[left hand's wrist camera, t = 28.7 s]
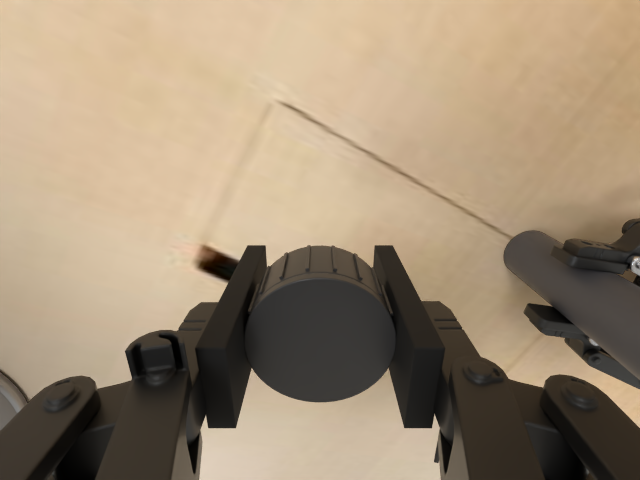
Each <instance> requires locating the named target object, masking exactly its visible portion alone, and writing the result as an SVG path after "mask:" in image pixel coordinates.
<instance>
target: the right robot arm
mask: <svg viewBox="0 0 640 480" xmlns="http://www.w3.org/2000/svg"><path fill="white" fill-rule="evenodd" d="M622 233H623V234H624V235H623V236H622V237H621V238H620V239H619V240H618V241H616V242H610V243H608V244H605V243H599V242H593V241H586V240H580V239H570V240H566V241H565V243H564V245H557V244H554V246H553V248H552V250H551V252H550V255H551V256H553V257H555V258H556V259H558V260H559V261H561V262H562V263H564V264H566V265H569V266H572V267H576V268H582V269H589V270H596V271H602V272H610V273H615V274H622V275H623V273H624V271H625V270H627V271H631V272H633V273H635V274H637V276H636V278H635V280H634V282H633V284H635V285H637V286H639V287H640V218H639V219H632V220H629V221H627V222H626V223H625V224H624V225H623V227H622ZM524 314H525V315H526V316H527V317H528V318H529V320H530V322H531V323H532V324H533V325H534V326H535V327H536V328H537V329H538V330H539V331H540V332H542V333H544V334H545V335H549V336H557V337H564V338H565V343H566V344H567V345H568V346H569V347H570V348H571V349H572V350H574V351H575V352H576V353H577V354H578V355H579V356H580V357H581V358H582V359H583V360H584V361H585V362H586V363H587V364H588V365H589V366H591V367H593V368H595V369H598V370H600V371H602V372H604V373H606V374H608V375H610V376H612V377H615V378H617V379H619V380H621V381H623V382H625V383H627V384H629V385H632V386H634V387H636V388H638V389H640V380H639V379H638V378H637V377H636V376H634V375H633V374H632V373H631V372H630V371H628V370H627V369H626V368H625V367H624V366H623V365H621V364H620V363H619V362H618V361H617V360H615V359H614V358H613V357H612V356H611V355H610V354H608V353H607V352H606V351H605V350H604V349H603V348H601V347H600V346H599V345H598V344H597V343H595V342H594V341H593V340H592V339H591V338H590V337H588V336H587V335H586V334H585V333H584V332H582V331H581V330H580V329H579V328H578V327H577V326H575V325H574V324H573V323H572V322H571V321H570V320H568V319H567V318H566V317H565V316H564V315H562V314H561V313H560V312H559V311H558V310H557V309H555V308H554V307H552V306H545V305H538V304H531V303H529V304H527V306H526V308H525V310H524Z"/></svg>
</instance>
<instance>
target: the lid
mask: <svg viewBox="0 0 640 480" xmlns="http://www.w3.org/2000/svg"><path fill="white" fill-rule="evenodd" d="M247 314H249V317H248V320H247V323H246V327H245V332H244V344H245V352H246V356H247V359H248V361H249V363H250V365H251V367H252V369H253V370H254V372H255V373H256V374H257V375H258V377H259V378H260V379H261V380H262V381H263V382H264V383H266V384H267V385H268V386H270V387H271V388H272V389H274V390H276V391H277V392H279V393H281V394H283V395H286V396H288V397H291V398H294V399H297V400H302V401H308V402H332V401H338V400H343V399H346V398H349V397H352V396H355V395H357V394H359V393H361V392H363V391H365V390H366V389H368V388H369V387H371V386H372V385H373V384H375V383H376V382H377V381H378V380H379V379H380V378H381V377H382V376H383V374H384V373H385V372H386V370H387V369H388V367H389V366H390V364H391V361H392V359H393V357H394V353H395V346H396V331H395V326H394V323H393V320H392V317H391V316H394V314H393V311H392V309H391V306H390V303H389V300H388V297H387V294H386V291H385V289H384V286H383V285H382V286H381V284H380V282H379V279H378V277H377V276H376V273H375V270H374V268H373V267H372V268H371V267H370V266H369V265H368V264H367V263H366V262H365V261H363V260H362V259H361V258H359V257H358V256H357V254H355V253H354V254H352V253H351V252H348V251H346V250H343V249H340V248H336V247H335V246H332V247H330V246H310V245H309V246H307V247H304V248H300V249H297V250H294V251H292V252H290V253H285V254H284V256H282V257H281V258H280V259H278V260H277V261H276V262H275V263H273V264H272V265H271V266H268V267H267V269H266V273H265V274H264V276H263V278H262V280H261V282H260V284H257V286H256V289H255V292H254V295H253V298H252V301H251V303H250V306H249V309H248V312H247Z"/></svg>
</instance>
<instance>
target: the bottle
mask: <svg viewBox="0 0 640 480" xmlns="http://www.w3.org/2000/svg"><path fill="white" fill-rule="evenodd" d="M554 244H557V245H564V244H562V243H560V242H559V241H557V240H555V239H553V238H551V237H550V236H548V235H546V234H544V233H542V232H540V231H526V232H523V233H521V234H519V235H517V236H516V237H514V238H513V239H512V240H511V241H510V242H509V244H508V245H507V247H506V249H505V252H504V262H505V264H506V266H507V267H508V269H509V270H511V271H512V272H513V273H514V274H515V275H517V276H518V277H519V278H520V279H521V280H522V281H524V282H525V283H526V284H527V285H528V286H529V287H531V288H532V289H533V290H534V291H535V292H537V293H538V294H539V295H540V296H541V297H542V298H544V299H545V300H546V301H547V302H548V303H549V304H551V305H552V306H553V307H554V308H555V309H557V310H558V311H559V312H560V313H561V314H562V315H564V316H565V317H566V318H567V319H568V320H570V321H571V322H572V323H573V324H574V325H575V326H577V327H578V328H579V329H580V330H581V331H582V332H584V333H585V334H586V335H587V336H588V337H590V338H591V339H592V340H593V341H594V342H595V343H597V344H598V345H599V346H600V347H601V348H603V349H604V350H605V351H606V352H607V353H608V354H610V355H611V356H612V357H613V358H614V359H615V360H617V361H618V362H619V363H620V364H621V365H623V366H624V367H625V368H626V369H627V370H628V371H630V372H631V373H632V374H633V375H634V376H636V377H637V378H638V379H639V380H640V287H639V286H637V285H635V284H633V283H632V282H630V281H628V280H626V279H625V278H623V277H621V276H619V275H617V274H615V273H610V272H602V271H596V270H589V269H582V268H576V267H572V266H569V265H566V264H564V263H562V262H561V261H559V260H558V259H556V258H555V257H553V256H551V255H550V252H551V250H552V248H553V246H554Z"/></svg>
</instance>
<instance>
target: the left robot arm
mask: <svg viewBox="0 0 640 480" xmlns="http://www.w3.org/2000/svg"><path fill="white" fill-rule="evenodd" d="M373 268H374V270H375V273H376V276H377V277H378V279H379V282H380V284H381V286H382V285H383V286H384V289H385V291H386V294H387V297H388V300H389V303H390V306H391V309H392V311H393V314H394V316H391V317H392V320H393V323H394V326H395V331H396V346H395V353H394V357H393V359H392V361H391V364H390V366H389V371H390V375H391V378H392V382H393V386H394V390H395V394H396V398H397V402H398V405H399V409H400V413H401V417H402V421H403V425H404V428H432V424H433V418H434V413H435V416H436V419H437V421H438V424H439V427H440V431H439V436H438V442H437V447H436V453H435V459H434V462H436V463H438V462H440V474H441V480H640V428H639V427H638V426H637V425H636V424H635V423H634V422H633V421H632V420H631V419H630V418H629V417H628V416H627V415H626V414H625V413H624V412H623V411H622V410H621V409H620V408H619V407H618V406H617V405H616V404H615V403H614V402H613V401H612V400H611V399H610V398H609V397H608V396H607V395H606V394H605V393H603V392H602V391H601V390H600V389H598V388H597V387H596V386H594V385H592V384H590V383H588V382H586V381H584V380H582V379H579V378H576V377H573V376H568V375H560V374H559V375H553V376H550V377H549V378H548V379H547V380H546V381H545V384H544V387H543V388H542V387H538V386H533V385H529V384H525V383H520V382H517V381H513V380H510V379H508V377H507V376H506V374H505V373H504V371H503V370H502V369H501V368H500V367H499V366H497V365H496V364H495V363H493V362H491V361H489V360H487V359H485V358H482V357H480V355H479V354H478V352H477V350H476V349H475V347H474V346H473V344H472V343H471V341H470V339H469V338H468V336H467V335H466V333H465V332H464V330H462V327H461V325H460V324H459V322H458V321H457V319H456V318H455V316H454V314H453V313H452V311H451V310H450V309H449V308H448V307H446V306H445V305H443V304H442V303H441V302H439V301H421V300H420V298H419V296H418V294H417V292H416V290H415V288H414V286H413V284H412V282H411V280H410V279H409V277H408V275H407V273H406V271H405V269H404V267H403V265H402V263H401V261H400V259H399V257H398V255H397V253H396V251H395V249H394V247H393V246H375V250H374V265H373ZM266 269H267V262H266V246H247V248H246V250H245V252H244V254H243V256H242V258H241V260H240V261H239V263H238V265H237V267H236V269H235V271H234V273H233V275H232V277H231V279H230V281H229V283H228V285H227V287H226V289H225V291H224V293H223V294H222V296H221V298H220V300H219V302H201V303H200V304H198V305H197V306H196V307H194V308H193V309H192V310H190V311H189V313H188V314H187V316H186V318H185V319H184V322H182V324H181V326H180V327H179V330H178V331H177V332H176V331H172V330H160V331H155V332H151V333H148V334H146V335H144V336H141V337H139V338H138V339H136V340H135V341H134V342H132V343H131V344H130V345H129V346H128V348H127V349H126V350H125V353H126V357H127V360H128V364H129V368H130V372H131V376H132V380H131V381H128V382H125V383H121V384H117V385H113V386H108V387H104V388H100V389H97V386H96V383H95V381H94V380H92V379H91V378H90V377H85V376H75V377H69V378H66V379H63V380H60V381H57V382H55V383H53V384H51V385H50V386H48V387H46V388H44V389H43V390H42V391H40V392H39V393H38V394H37V395H35V396H34V397H33V398H32V399H31V400H30V401H29V402H28V403H27V401H26V399H25V398H24V396H23V395H22V393H21V392H20V391H19V389H18V388H17V387H16V386H15V385H14V384H13V383H12V382H11V381H10V380H9V379H8V378H7V377H5V376H4V375H3V374H2V373H0V480H199V475H200V463H201V452H202V437H201V431H200V429H201V426H202V424H203V421H204V418H205V415H206V417H207V423H208V428H236V425H237V421H238V418H239V414H240V410H241V406H242V402H243V398H244V395H245V391H246V387H247V383H248V379H249V375H250V372H251V368H252V367H251V365H250V363H249V361H248V359H247V356H246V352H245V344H244V332H245V327H246V323H247V320H248V317H249V314H247V312H248V309H249V306H250V303H251V301H252V298H253V295H254V292H255V289H256V286H257V284H260V282H261V280H262V278H263V276H264V274H265V273H266Z"/></svg>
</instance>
